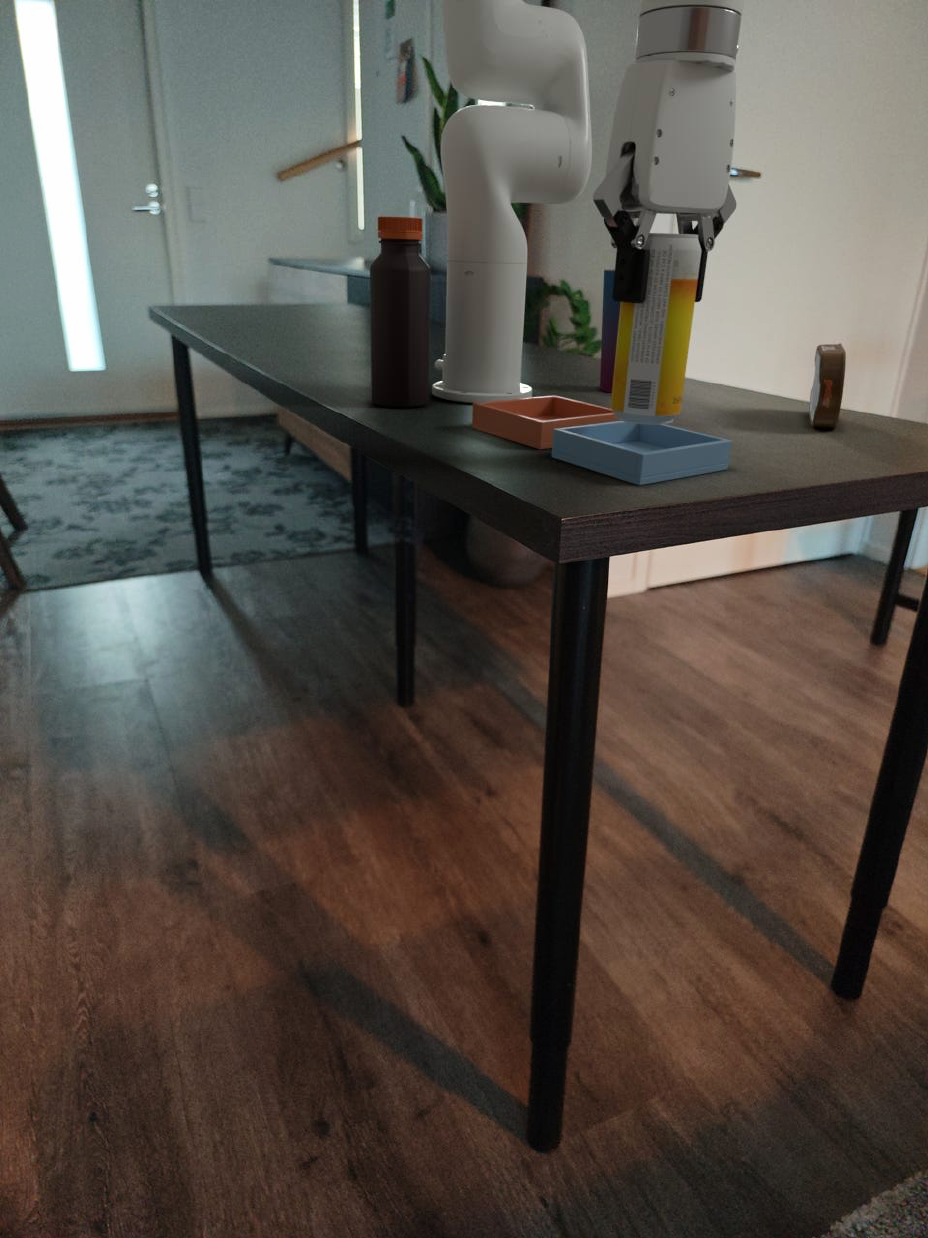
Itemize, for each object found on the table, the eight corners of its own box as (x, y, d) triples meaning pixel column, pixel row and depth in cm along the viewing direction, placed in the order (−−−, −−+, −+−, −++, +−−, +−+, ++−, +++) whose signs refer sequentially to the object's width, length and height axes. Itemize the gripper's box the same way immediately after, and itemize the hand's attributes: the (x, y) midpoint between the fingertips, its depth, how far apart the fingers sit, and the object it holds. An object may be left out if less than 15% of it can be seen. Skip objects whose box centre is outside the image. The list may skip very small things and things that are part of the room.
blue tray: (551, 457, 79) (553, 428, 77) (637, 444, 85) (640, 418, 83) (639, 485, 70) (643, 454, 69) (727, 469, 76) (732, 440, 75)
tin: (837, 435, 92) (854, 354, 88) (806, 432, 93) (821, 351, 89) (830, 412, 105) (844, 340, 101) (803, 409, 106) (816, 338, 102)
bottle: (373, 397, 104) (370, 216, 96) (428, 399, 104) (431, 218, 96) (369, 408, 98) (366, 215, 90) (429, 409, 98) (431, 217, 90)
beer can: (680, 415, 78) (704, 235, 72) (677, 428, 72) (702, 234, 66) (613, 410, 79) (631, 233, 73) (605, 422, 74) (624, 231, 68)
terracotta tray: (471, 427, 89) (472, 402, 88) (552, 418, 95) (554, 395, 94) (539, 449, 81) (541, 422, 80) (624, 438, 87) (627, 412, 86)
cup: (641, 387, 118) (654, 270, 112) (646, 395, 112) (660, 272, 106) (592, 384, 119) (602, 268, 112) (594, 392, 112) (605, 270, 106)
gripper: (721, 69, 72) (691, 297, 79) (567, 38, 63) (549, 299, 70) (798, 57, 66) (758, 303, 74) (641, 20, 57) (614, 306, 64)
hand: (657, 299), depth 72 cm, fingers closed on beer can, 6 cm apart
